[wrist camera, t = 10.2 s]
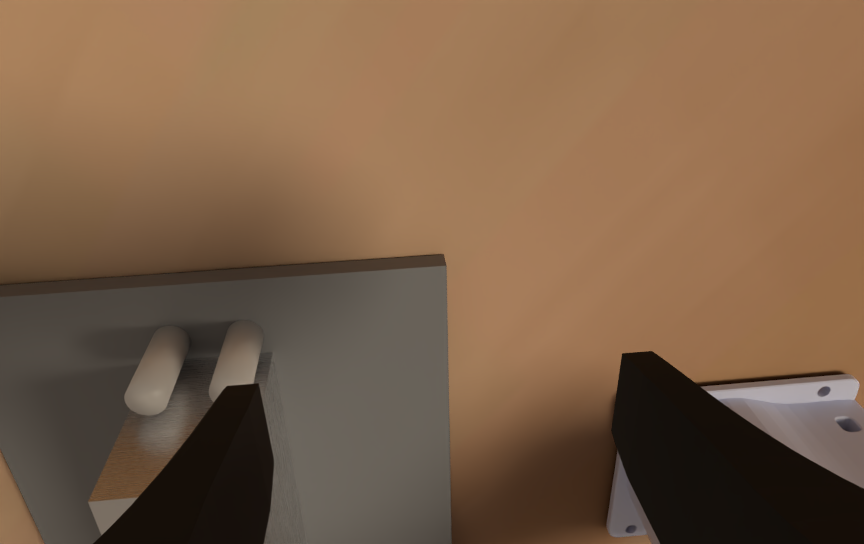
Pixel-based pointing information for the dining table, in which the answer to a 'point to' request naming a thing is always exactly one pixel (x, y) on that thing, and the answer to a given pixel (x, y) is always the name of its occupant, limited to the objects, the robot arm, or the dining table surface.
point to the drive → (166, 432)
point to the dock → (238, 358)
